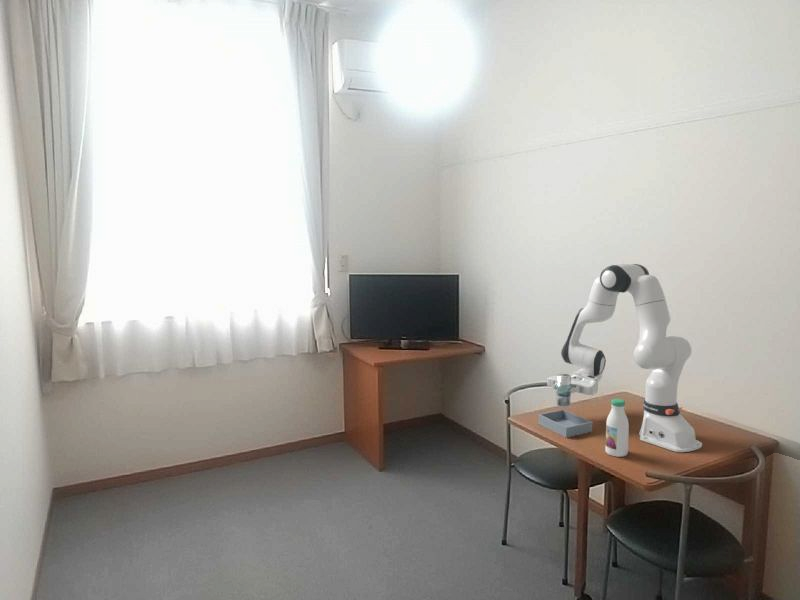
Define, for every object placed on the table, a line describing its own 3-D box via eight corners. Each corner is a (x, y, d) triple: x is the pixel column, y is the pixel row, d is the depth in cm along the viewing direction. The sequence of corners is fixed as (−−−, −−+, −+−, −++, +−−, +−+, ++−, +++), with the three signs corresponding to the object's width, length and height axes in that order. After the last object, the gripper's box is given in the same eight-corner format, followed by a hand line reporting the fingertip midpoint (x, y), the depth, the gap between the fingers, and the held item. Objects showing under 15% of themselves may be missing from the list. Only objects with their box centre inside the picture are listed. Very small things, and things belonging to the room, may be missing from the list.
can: (573, 404, 228) (574, 376, 226) (562, 407, 226) (563, 378, 224) (564, 400, 233) (564, 373, 231) (553, 402, 231) (553, 375, 229)
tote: (592, 431, 223) (592, 422, 223) (566, 437, 218) (566, 427, 217) (563, 418, 239) (563, 409, 238) (538, 423, 233) (538, 414, 233)
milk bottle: (624, 448, 206) (626, 396, 203) (630, 457, 199) (632, 403, 196) (602, 448, 207) (604, 396, 204) (608, 457, 200) (610, 403, 197)
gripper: (556, 370, 244) (540, 377, 234) (601, 378, 230) (586, 386, 220) (556, 383, 245) (539, 391, 235) (600, 393, 231) (585, 401, 221)
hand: (562, 389), depth 228 cm, fingers closed on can, 6 cm apart
